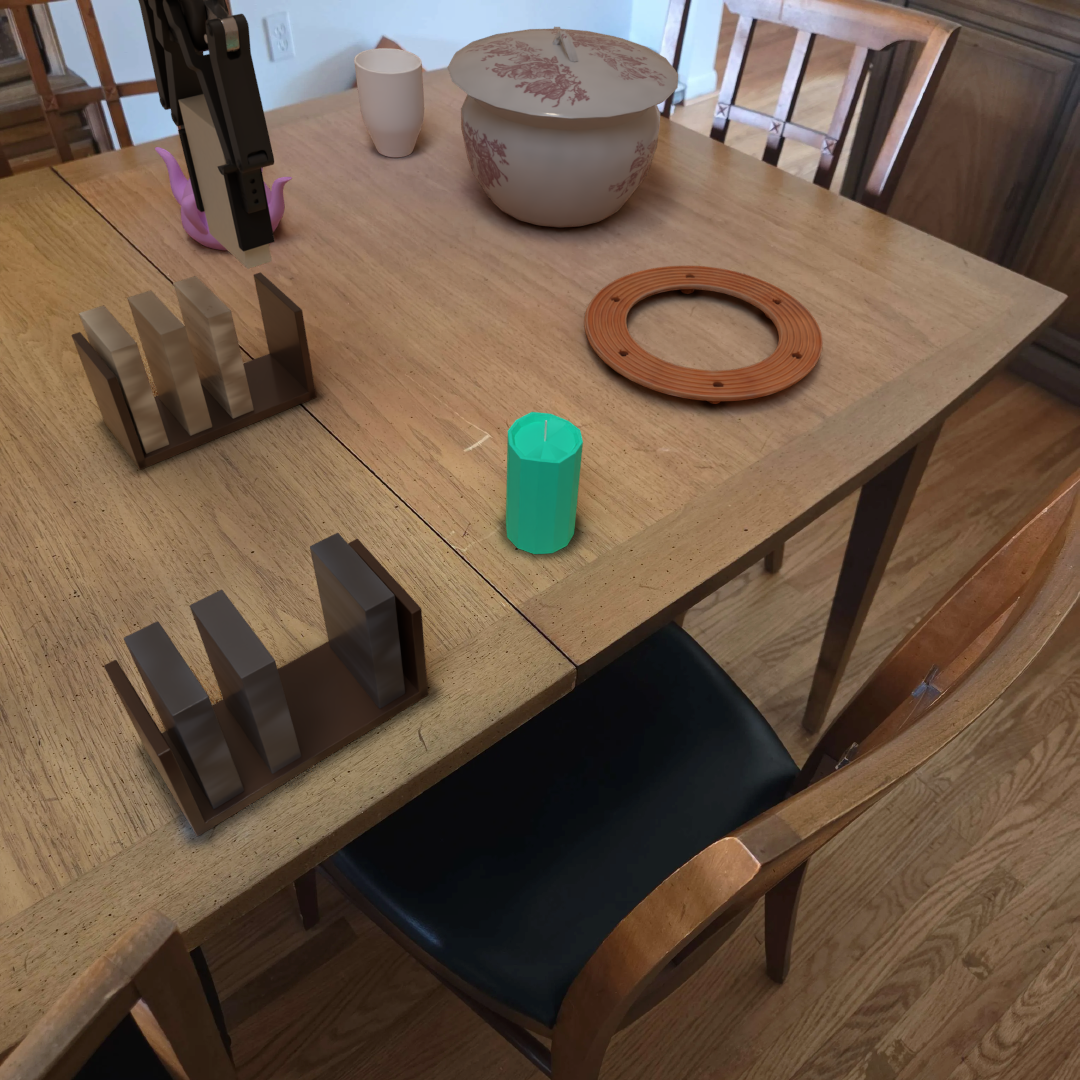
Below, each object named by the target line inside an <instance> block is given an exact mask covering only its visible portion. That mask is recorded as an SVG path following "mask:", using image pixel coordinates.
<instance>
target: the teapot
mask: <svg viewBox="0 0 1080 1080" xmlns="http://www.w3.org/2000/svg"><path fill="white" fill-rule="evenodd" d="M154 151H155V152H156V153H157V154H158V155H159V156H160V158H161V159H162V160H163V162H164V164H165V166H166V169H167V173H168V179H169V184H170V189H171V192H172V195H173V197H174V199H175V200H176V202H177V203H178V204H179V206H180V220H181V224H182V225H181V226H182V228H183V229H184V231H185V233H186V234H187V235H188V236H189V237H190V238H192V240H195V241H196V242H197V243H199V244H200V245H202V246H204V247H206V248H209V249H211V250H217V251H218V250H219V251H228V250H227V249H226V248H225V247H224V246H223V245H222V244H221V243H219V242H218V241H217V240H216V239H215V238H214V237H213V236H212V235H211V234H210V231H209V227H208V223H207V219H206V215H205V211H203V212H200V211H199V210H198V209H197V206H196V202H195V198H194V194H193V189H192V185H191V181H190V177H189V176H188V179H187V177H186V175H185V173H184V172H183V170H182V168H181V166H180V165H179V162H178V161H177V159H176V157H174V155H173V153H171V152H170V151H168V150H166V149H165V148H163V147H159V146H156V147H154ZM261 169H262V173H263V170H264V167H263V168H261ZM292 179H293V176H281V177H278V178H276V179H274V181H273V182H272V185H271V189H270V187H269V186H268V185H267V183H266V182H265V181H264V186H265V191H266V197H267V202H268V207H269V213H270V218H271V224H272V229H273V233H274V232H275V231H276V229H277V227H278V226H279V225H280V221H281V220H282V218H283V216H284V214H285V208H286V206H285V197H284V187H285V185H286V184H287V183H288V182H289V181H291V180H292Z"/></svg>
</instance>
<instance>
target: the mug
mask: <svg viewBox="0 0 1080 1080" xmlns="http://www.w3.org/2000/svg"><path fill="white" fill-rule="evenodd" d="M353 62H354V70H355V71H354V72H355V76H356V77H355V78H356V79H355V80H356V87H357V94H358V102H359V108H360V114H361V118H362V121H363V123H364V126H365V127H366V128H365V129H366V130H367V132H368V134H369V136H370V138H371V140H372V142H373V145H374V147H375V149H376V151H377V152H378V153H379V154H380V155H382V156H385V157H388V158H403V157H407V156H409V155H411V154H412V153H414V152H413V151H414V148H415V146H416V144H417V141H418V138H419V136H420V132H421V129H422V127H423V125H424V118H425V93H424V92H425V91H424V77H423V61H422V58H421V57H420V56H419V55H417V54H416V53H413V52H411V51H408V50H405V49H399V48H390V47H381V48H379V47H377V48H371V49H366V50H363V51H361V52H359V53H357V54H356V55H355V56H354V58H353Z"/></svg>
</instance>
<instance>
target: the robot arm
mask: <svg viewBox="0 0 1080 1080" xmlns="http://www.w3.org/2000/svg"><path fill="white" fill-rule="evenodd" d="M138 4H139V8H140V12H141V18H142V21H143V26H144V31H145V35H146V42H147V44H148V51H149V56H150V59H151V64H152V70H153V75H154V79H155V84H156V89H157V92H158V97H159V103H160V105H161V107H162V108H163V109H164V110H165V111H166V110H167V111H168V110H170V117H171V120H172V123H174V124H175V126H176V127H180V129H178V130H177V131H178V132H177V133H178V137H179V139H180V144H181V148H182V151H183V157H184V161H185V165H186V169H187V174H188V178H189V177H190V181H191V185H192V189H193V194H194V198H195V202H196V206H197V209H198V210H199V211H200V212H203V211H205V210H204V206H203V202H202V198H201V193H200V189H199V185H198V181H197V177H196V172H195V168H194V164H193V160H192V155H191V151H190V147H189V143H188V139H187V134H186V130H185V126H184V122H183V118H182V113H181V109H180V105H179V101H178V100H179V99H184V98H188V97H193V96H197V95H201V94H204V97H205V100H206V103H207V106H208V109H209V112H210V115H211V118H212V121H213V124H214V127H215V130H216V133H217V136H218V139H219V142H220V145H221V148H222V151H223V154H224V157H225V160H226V164H225V165H221V166H217V167H218V170H219V171H220V173H221V174H222V175H224V180H225V184H226V189H227V194H228V198H229V203H230V208H231V212H232V217H233V221H234V226H235V231H236V235H237V240H238V245H239V248H240V249H241V250H242V251H243V252H244V251H247V250H250V249H253V248H256V247H260V246H263V245H266V244H269V245H270V244H273V243H275V242H276V240H275V236H274V232H273V229H272V224H271V218H270V213H269V207H268V202H267V197H266V191H265V186H264V182H265V180H264V176H263V172H262V169H261V168H263V169H264V168H266V167H270V166H273V165H274V164H275V157H274V152H273V148H272V143H271V138H270V134H269V130H268V125H267V121H266V116H265V111H264V107H263V102H262V97H261V93H260V89H259V84H258V80H257V74H256V70H255V66H254V62H253V57H252V51H251V50H252V49H251V38H250V37H251V36H250V27H249V26H250V25H249V22H248V20H247V18H246V15H244V13H238V14H233V15H230V12H229V8H228V5H227V1H226V0H138ZM204 52H208V54H207V53H206V54H204Z"/></svg>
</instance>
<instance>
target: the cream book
mask: <svg viewBox="0 0 1080 1080" xmlns="http://www.w3.org/2000/svg"><path fill="white" fill-rule="evenodd" d="M178 101H179V105H180V109H181V113H182V118H183V122H184V126H185V130H186V134H187V139H188V143H189V147H190V151H191V155H192V160H193V164H194V168H195V172H196V177H197V181H198V185H199V189H200V193H201V198H202V202H203V206H204V210H205V215H206V219H207V223H208V227H209V231H210V234H211V235H212V236H213V237H214V238H215V239H216V240H217V241H218V242H219V243H221V244H222V245H223V246H224V247H225V248H226V249H227V250H226V251H228V252H229V253H230V255H232V256H233V257H234V258H235V259H236V260H237V261H238V262H239V263H241V265H243V266H244V268H246V270H250V269H253V268H256V267H259V266H262V265H265V264H269V263H272V262H273V258H272V253H271V248H270V243H269V244H266V245H263V246H260V247H256V248H253V249H250V250H247V251H244V252H243V251H242V250H241V249H240V248H239V245H238V240H237V235H236V231H235V226H234V221H233V217H232V212H231V208H230V203H229V198H228V194H227V189H226V184H225V180H224V175H222V174H221V173H220V171H219V170H218V167H217V166H221V165H225V164H226V160H225V157H224V154H223V151H222V148H221V145H220V142H219V139H218V136H217V133H216V130H215V127H214V124H213V121H212V118H211V115H210V112H209V109H208V106H207V103H206V100H205V97H204V94H201V95H197V96H193V97H188V98H184V99H179V100H178Z"/></svg>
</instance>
